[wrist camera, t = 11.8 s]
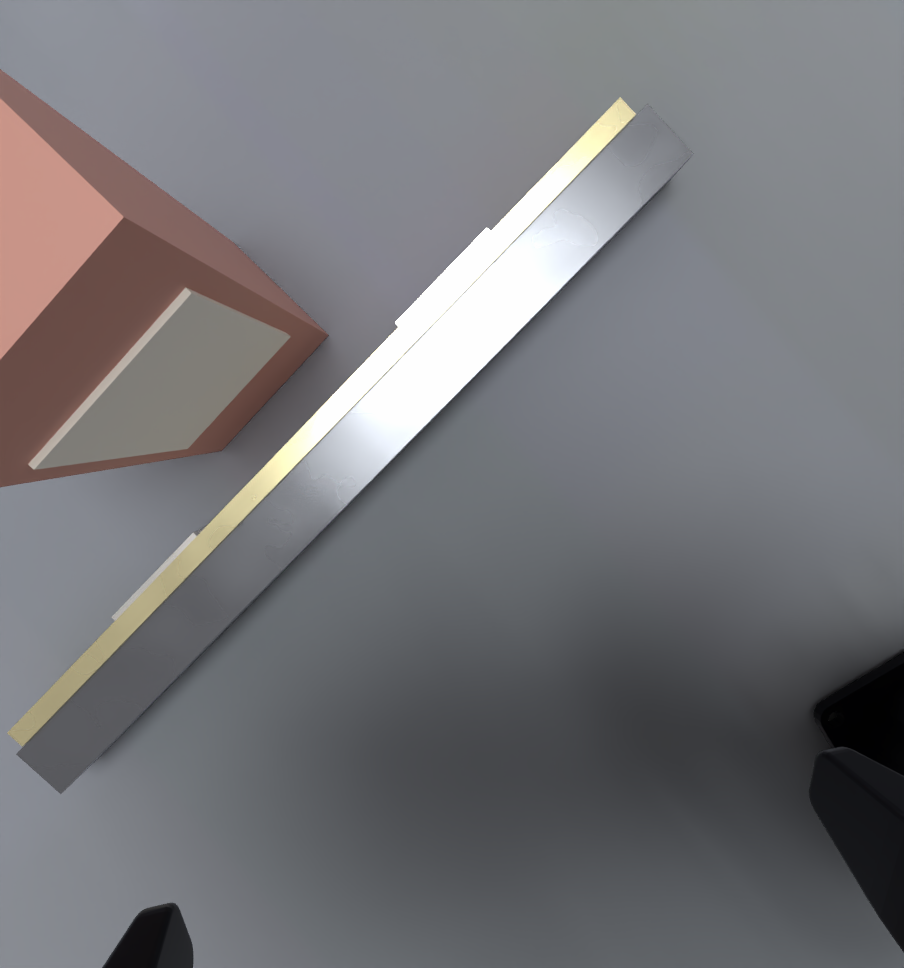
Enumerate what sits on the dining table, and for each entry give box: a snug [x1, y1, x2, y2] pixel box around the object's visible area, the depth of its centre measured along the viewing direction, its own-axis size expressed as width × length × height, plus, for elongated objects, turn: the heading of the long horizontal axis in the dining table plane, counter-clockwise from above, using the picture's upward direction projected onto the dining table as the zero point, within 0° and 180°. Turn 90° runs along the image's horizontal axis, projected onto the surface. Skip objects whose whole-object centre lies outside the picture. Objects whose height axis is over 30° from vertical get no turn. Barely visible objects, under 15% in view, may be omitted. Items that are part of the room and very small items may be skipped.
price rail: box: [8, 98, 694, 794], centre depth 19 cm, size 3×26×2 cm, turn 135°
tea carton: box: [0, 69, 328, 487], centre depth 14 cm, size 4×5×12 cm
